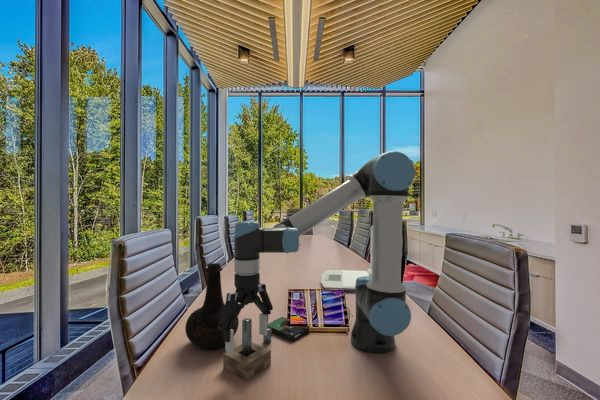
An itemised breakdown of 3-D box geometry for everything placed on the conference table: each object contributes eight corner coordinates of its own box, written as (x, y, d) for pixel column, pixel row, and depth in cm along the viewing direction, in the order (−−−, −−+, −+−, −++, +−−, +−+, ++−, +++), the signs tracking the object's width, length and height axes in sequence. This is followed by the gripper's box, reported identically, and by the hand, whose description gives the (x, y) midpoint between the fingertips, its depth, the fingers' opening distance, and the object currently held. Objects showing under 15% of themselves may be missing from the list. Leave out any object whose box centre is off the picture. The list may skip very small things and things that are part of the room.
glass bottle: (179, 340, 106) (179, 262, 106) (226, 327, 117) (226, 256, 117) (194, 362, 92) (194, 272, 92) (247, 345, 103) (246, 264, 103)
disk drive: (310, 333, 113) (281, 323, 122) (310, 326, 113) (281, 316, 122) (292, 344, 105) (263, 331, 114) (292, 336, 105) (263, 324, 114)
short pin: (272, 341, 105) (272, 329, 105) (267, 344, 103) (267, 331, 103) (267, 339, 107) (267, 326, 107) (261, 342, 105) (261, 329, 105)
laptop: (323, 273, 204) (322, 223, 204) (372, 274, 199) (372, 223, 199) (319, 292, 162) (318, 229, 162) (380, 294, 158) (380, 229, 158)
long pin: (253, 365, 90) (253, 319, 90) (246, 370, 88) (246, 322, 88) (247, 362, 92) (247, 317, 91) (240, 366, 89) (240, 320, 89)
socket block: (270, 364, 90) (270, 350, 90) (246, 380, 82) (246, 364, 82) (248, 354, 96) (248, 340, 96) (223, 368, 88) (223, 353, 88)
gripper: (266, 263, 102) (266, 325, 102) (204, 279, 82) (204, 356, 82) (283, 266, 97) (283, 331, 97) (221, 284, 77) (221, 365, 77)
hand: (247, 342), depth 89 cm, fingers open, 13 cm apart
